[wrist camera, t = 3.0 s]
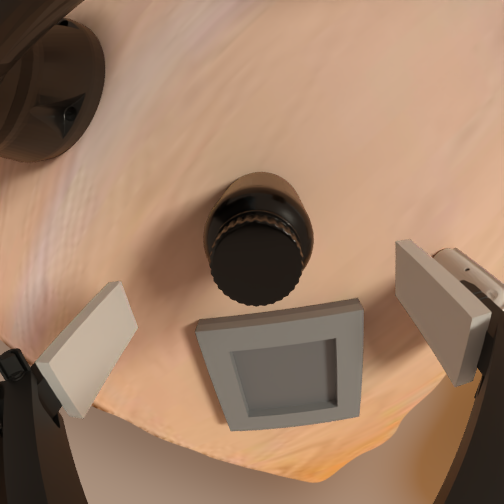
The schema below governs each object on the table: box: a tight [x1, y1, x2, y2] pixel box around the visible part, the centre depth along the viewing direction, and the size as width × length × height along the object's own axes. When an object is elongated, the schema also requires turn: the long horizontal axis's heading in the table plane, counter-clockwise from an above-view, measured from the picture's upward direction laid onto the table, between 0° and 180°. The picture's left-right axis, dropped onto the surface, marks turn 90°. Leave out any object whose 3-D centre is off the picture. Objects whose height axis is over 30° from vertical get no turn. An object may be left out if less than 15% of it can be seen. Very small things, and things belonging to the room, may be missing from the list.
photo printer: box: [433, 248, 504, 311], centre depth 23 cm, size 10×4×12 cm, turn 33°
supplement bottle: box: [203, 172, 314, 306], centre depth 21 cm, size 7×7×12 cm
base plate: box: [195, 298, 364, 431], centre depth 32 cm, size 16×16×2 cm
